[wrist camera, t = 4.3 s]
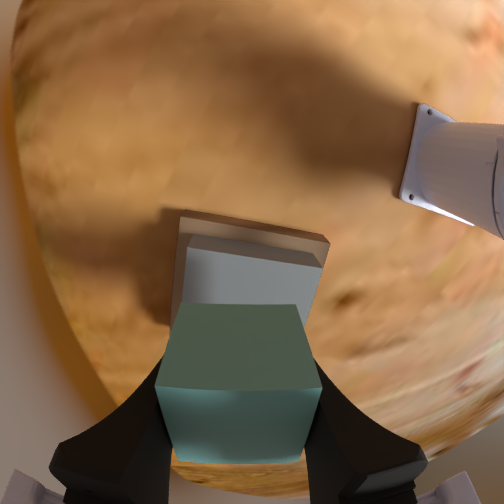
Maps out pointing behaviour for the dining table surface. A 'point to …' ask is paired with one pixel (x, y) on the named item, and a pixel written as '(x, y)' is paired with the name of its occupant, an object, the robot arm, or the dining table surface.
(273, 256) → the grey block
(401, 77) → the dining table surface
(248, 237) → the walnut block
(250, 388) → the teal cube
